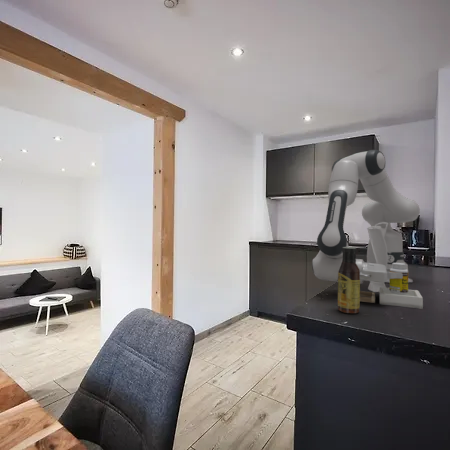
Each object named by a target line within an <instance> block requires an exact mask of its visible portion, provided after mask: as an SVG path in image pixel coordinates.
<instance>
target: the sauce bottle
mask: <svg viewBox="0 0 450 450" xmlns="http://www.w3.org/2000/svg"><path fill="white" fill-rule="evenodd" d="M357 250H358V249H357V247H354V246H353V247H352V246H349V247H343V248H342V252H343V260H342V263H341V266H340V269H339V271H338V281H337V307H338V308H337V310H338V311H340V312H341V313H344V314H359V312H360V306H361V305H360V302H361V301H360V291H361V284H360V270H359V268H358V266H357V264H356V259H357V256H356V255H357Z"/></svg>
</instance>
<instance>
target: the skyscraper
mask: <svg viewBox="0 0 450 450" xmlns="http://www.w3.org/2000/svg"><path fill="white" fill-rule="evenodd" d="M379 224H387V225H386V228H381V226H377V225H379ZM387 226H388V223H386V222H382V223H378V224H376V225H375V226H368V227H367V228H366V229H367V233H368V238H369V240H368V245H367V249H366V250H367V251H366V262H368V263H375V264H382V265H385V266H386V268H387V262H388V254H387V246H386V242H385V239H384V237H385V233H386V229H387ZM379 287H384V288H387V286H386V284H385V282H374V281H369V285H368V287H367V290H369V291H370V292H375V293H377V292H378V293H380V288H379Z"/></svg>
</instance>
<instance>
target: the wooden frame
mask: <svg viewBox="0 0 450 450" xmlns="http://www.w3.org/2000/svg"><path fill="white" fill-rule="evenodd" d="M360 302H364V303H372V304H373V303H374V304H376V292H373V291H365V290H360Z"/></svg>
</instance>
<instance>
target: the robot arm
mask: <svg viewBox="0 0 450 450" xmlns="http://www.w3.org/2000/svg"><path fill="white" fill-rule="evenodd" d="M385 168H386V158H385V155H384V153H383V152H382V151H380V150H378V149H369V150H367V151H361V152H357V153H353V154H351V155H348V156H346V157H342V158H339V159H337V160H335V161H334V162H333V164H332V167H331V175H330V178H329V183H328V193H327V194H328V195H327V196H328V197H327V198H328V205H327V206H328V207H327V212H326V216H325V223H324V225H323V227H322V229H321V230H320V231H319V234H318V235H317V238H316V245H317V247H318V249H319V252H318V253H317V254H316V256H314V257H313V259H312V260H311V267H312V273H313V275H314V276H315V278H317V279H319V280H322V281H328V282H329V281H331V282H338V271H339V269H340V266H341V263H342V260H343V252H342V248H343V247H350V246H349V242H348V241H347V236H346V233H345V231H344V224H345V217H346V211H347V208H348V207H349V206H351V205H352V204H354V202H355V201H356V198H357V195H358V189H359V181H360V182H361V185H362V187H363V189H364V191H365V193H366V195H367V197H368V199H370V200H371V202H368V203H366V204H365V205H363V208H362V209H361V216H362V218H363V220H364V221H365V222H366V223H368V224H369V225H370V227H372V226H375V225H376V224H378V223H382V222H386V223H388V226H387V229H386V233H385V237H384V239H385V242H386V246H387V254H388V262H387V268H386V266H385V265H382V264H375V263H368V262H367V261H366V262H365V261H364V259H360V258H356V264H357V266H358V268H359V270H360V285H361V284H363V283H364V281H365V282H370V281H374V282H384V283H389V282H390V279H394V278H399V279H402V278H403V274H402V273H398V272H396V273H394V272H390V269H391V268H392V263H404V264H406V268H405V269H407V270H408V271H409V268H408V267H409V266H408V263H407V262H405V260H404V259H405V253H404V251H403V247H404V246H403V243H404V242H403V235H402V234H401V233H400V232H399V231H396V230H395V229H394V228H393V226H392V225H391V224H403V223H404V224H405V223H410V222H413V221H416V220H417V219H418V218H419V216H420V213H421V211H420V210H421V209H420V205H419V203H418V202H416V201H415V200H414V199H410V198H408V197H406V196H404V195H403V194H402V193H400V192H399V191H397V189H396V188H395V187H394V186H393V183H392V182H391V179H390V177H389V176H388V173H387V171H386V169H385ZM386 225H387V224H379V225H377V226H381V228H386ZM408 283H414V281H413V279H412V278H409V277H408Z"/></svg>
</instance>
